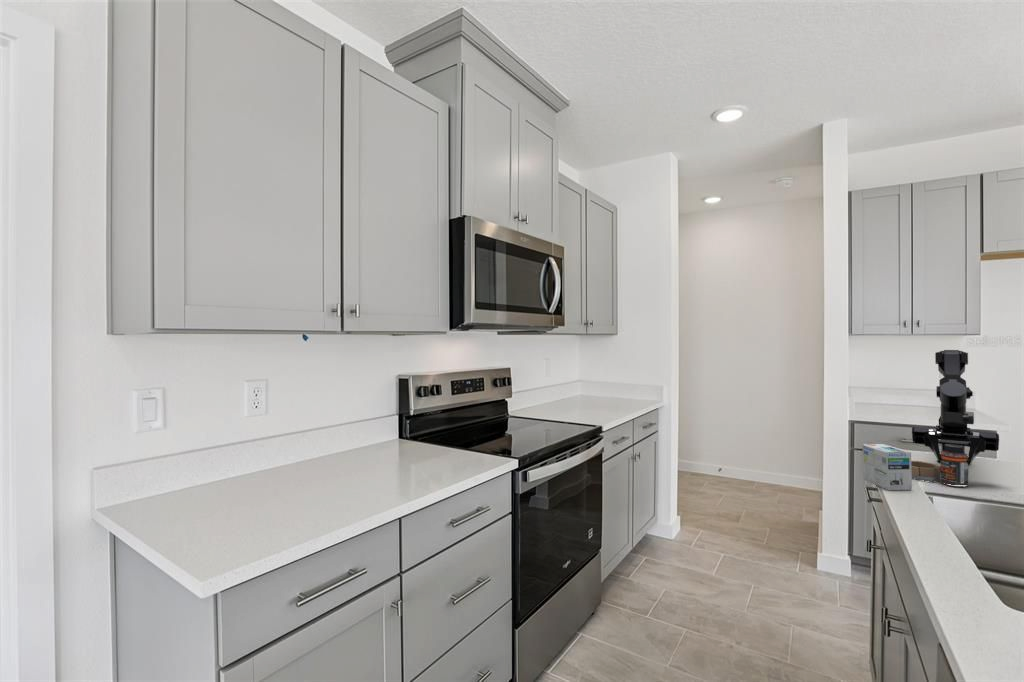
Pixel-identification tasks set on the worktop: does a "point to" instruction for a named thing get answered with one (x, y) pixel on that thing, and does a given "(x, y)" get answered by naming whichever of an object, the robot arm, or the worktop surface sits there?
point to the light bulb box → (887, 466)
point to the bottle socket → (925, 471)
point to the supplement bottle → (954, 465)
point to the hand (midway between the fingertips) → (954, 462)
